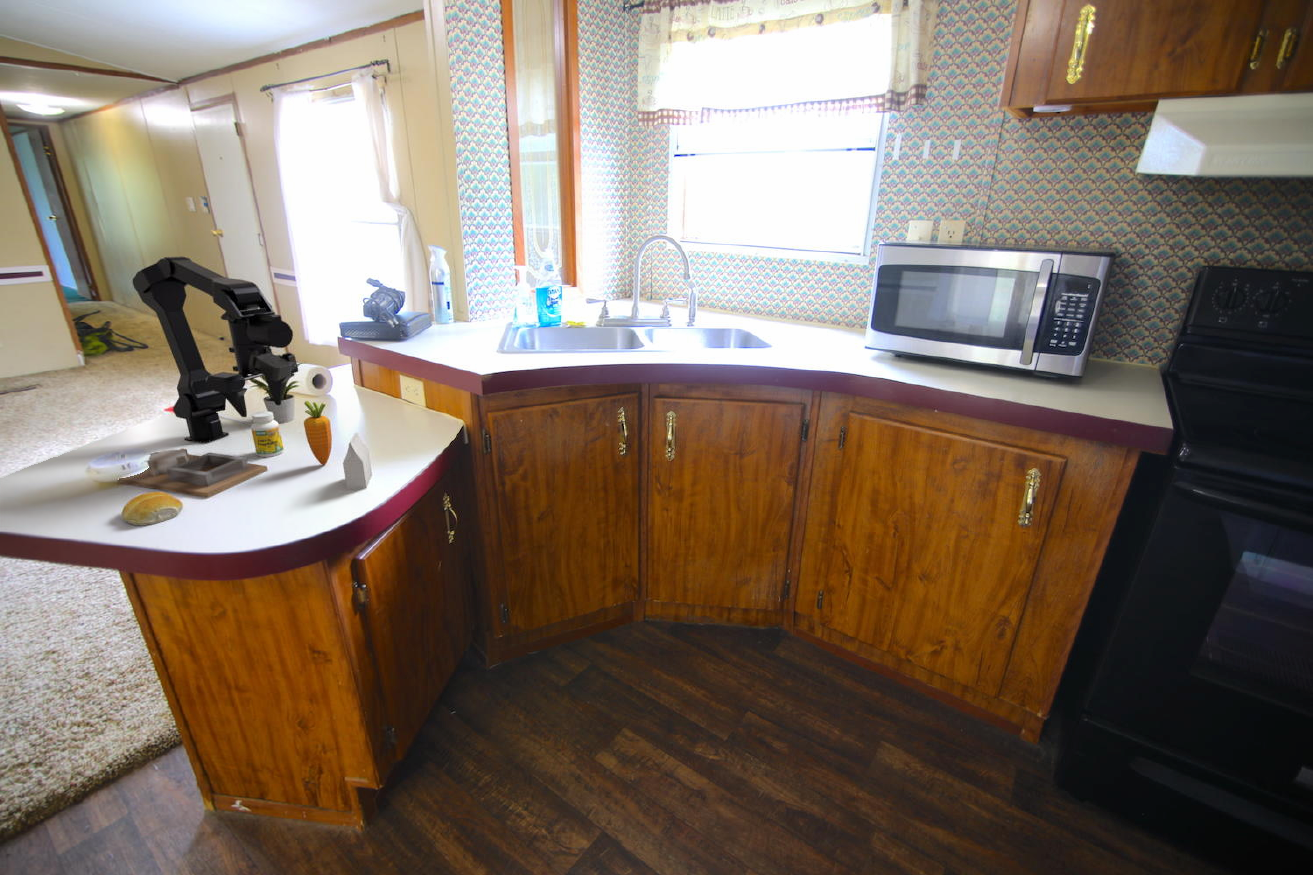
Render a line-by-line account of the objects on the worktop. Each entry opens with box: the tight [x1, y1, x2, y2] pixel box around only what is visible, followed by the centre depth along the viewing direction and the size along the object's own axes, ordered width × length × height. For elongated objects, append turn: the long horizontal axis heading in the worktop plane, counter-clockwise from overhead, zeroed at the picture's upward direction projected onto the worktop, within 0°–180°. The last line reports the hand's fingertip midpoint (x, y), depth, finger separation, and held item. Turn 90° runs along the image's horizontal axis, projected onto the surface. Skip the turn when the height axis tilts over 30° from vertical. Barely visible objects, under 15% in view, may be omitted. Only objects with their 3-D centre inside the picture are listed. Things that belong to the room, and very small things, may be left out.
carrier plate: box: [117, 448, 268, 499], centre depth 123 cm, size 22×14×4 cm, turn 77°
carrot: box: [303, 400, 333, 466], centre depth 129 cm, size 5×5×15 cm
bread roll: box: [121, 491, 184, 526], centre depth 108 cm, size 8×9×4 cm
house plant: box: [247, 361, 307, 424], centre depth 156 cm, size 14×14×16 cm
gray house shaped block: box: [342, 432, 373, 490], centre depth 123 cm, size 4×7×10 cm, turn 16°
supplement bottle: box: [250, 410, 285, 458], centre depth 135 cm, size 5×5×10 cm
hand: (261, 410), depth 133 cm, fingers open, 9 cm apart
